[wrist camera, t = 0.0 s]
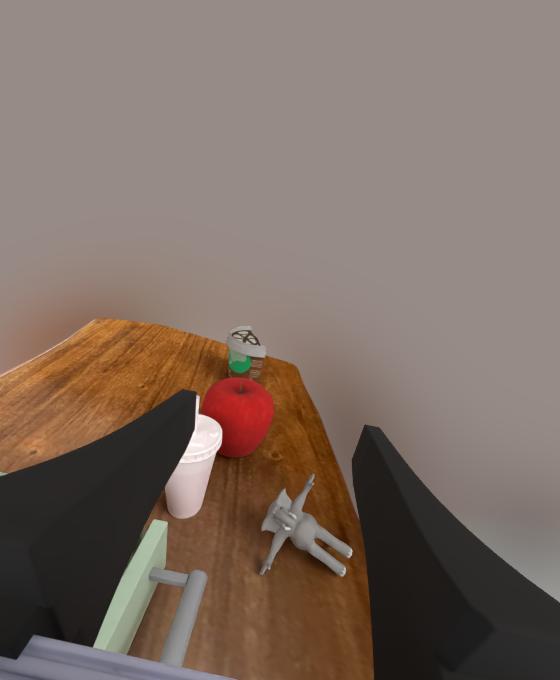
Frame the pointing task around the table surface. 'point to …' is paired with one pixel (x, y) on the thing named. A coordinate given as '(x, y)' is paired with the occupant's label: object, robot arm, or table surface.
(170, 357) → the table surface
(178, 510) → the smoothie
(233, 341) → the food container
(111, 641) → the drawer
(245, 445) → the apple
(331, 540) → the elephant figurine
